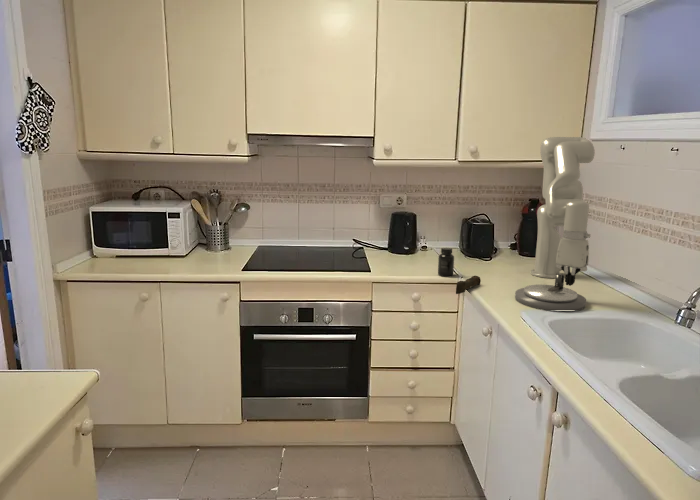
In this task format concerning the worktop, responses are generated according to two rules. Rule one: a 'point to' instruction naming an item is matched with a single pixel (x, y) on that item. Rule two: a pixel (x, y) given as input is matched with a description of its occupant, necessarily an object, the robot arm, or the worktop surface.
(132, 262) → the worktop surface
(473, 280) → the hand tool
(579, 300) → the dial base
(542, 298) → the dial
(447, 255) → the supplement bottle
